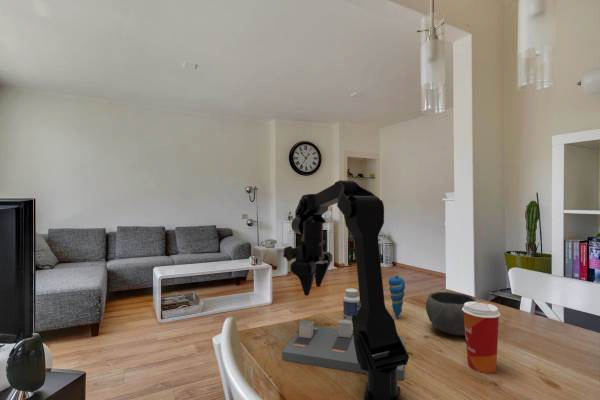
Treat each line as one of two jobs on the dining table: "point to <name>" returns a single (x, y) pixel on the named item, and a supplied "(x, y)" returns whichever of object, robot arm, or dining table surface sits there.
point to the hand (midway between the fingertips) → (312, 290)
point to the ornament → (397, 294)
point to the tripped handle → (306, 329)
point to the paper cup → (481, 335)
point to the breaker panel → (328, 351)
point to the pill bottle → (351, 303)
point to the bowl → (448, 311)
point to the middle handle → (345, 328)
